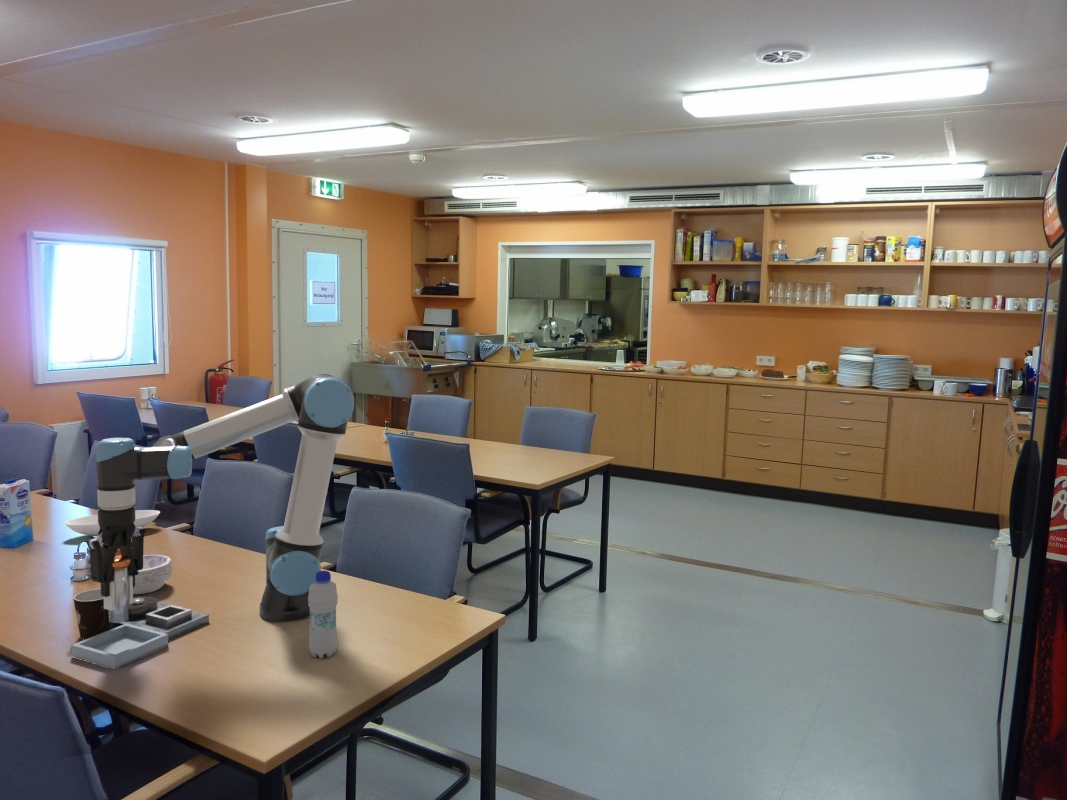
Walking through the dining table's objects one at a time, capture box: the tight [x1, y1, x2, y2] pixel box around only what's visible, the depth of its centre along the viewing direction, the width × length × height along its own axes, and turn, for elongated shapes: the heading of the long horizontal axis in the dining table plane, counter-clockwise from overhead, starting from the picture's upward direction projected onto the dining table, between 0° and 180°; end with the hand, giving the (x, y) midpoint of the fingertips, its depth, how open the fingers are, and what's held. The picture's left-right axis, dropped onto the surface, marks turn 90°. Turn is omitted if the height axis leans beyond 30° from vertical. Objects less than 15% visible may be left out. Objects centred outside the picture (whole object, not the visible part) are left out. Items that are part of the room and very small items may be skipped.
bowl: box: [64, 509, 161, 537], centre depth 270 cm, size 30×15×6 cm, turn 129°
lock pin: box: [109, 555, 130, 623], centre depth 175 cm, size 5×5×14 cm
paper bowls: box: [133, 554, 173, 595], centre depth 216 cm, size 15×15×8 cm
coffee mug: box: [72, 588, 111, 640], centre depth 183 cm, size 12×9×10 cm
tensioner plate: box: [111, 596, 210, 641], centre depth 192 cm, size 22×14×5 cm, turn 66°
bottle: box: [308, 570, 339, 659], centre depth 177 cm, size 7×7×20 cm
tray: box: [70, 623, 169, 671], centre depth 176 cm, size 14×14×3 cm
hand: (118, 605), depth 175 cm, fingers closed on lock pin, 4 cm apart
